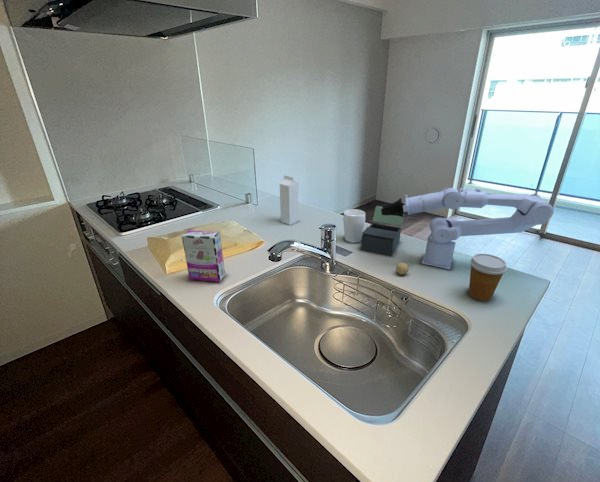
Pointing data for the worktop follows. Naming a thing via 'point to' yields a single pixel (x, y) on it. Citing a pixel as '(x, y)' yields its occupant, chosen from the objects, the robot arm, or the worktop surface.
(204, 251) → the candy bar box
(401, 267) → the paper ball
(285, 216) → the milk
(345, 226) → the cup
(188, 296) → the worktop surface
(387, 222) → the bin flap
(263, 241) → the worktop surface
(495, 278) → the disposable coffee cup
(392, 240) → the bin
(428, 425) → the worktop surface
